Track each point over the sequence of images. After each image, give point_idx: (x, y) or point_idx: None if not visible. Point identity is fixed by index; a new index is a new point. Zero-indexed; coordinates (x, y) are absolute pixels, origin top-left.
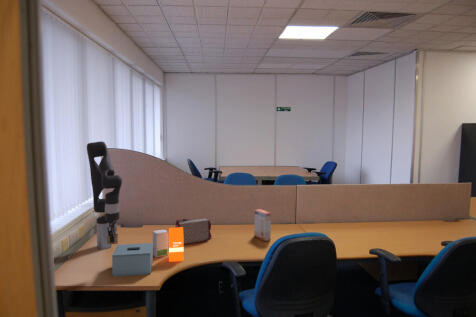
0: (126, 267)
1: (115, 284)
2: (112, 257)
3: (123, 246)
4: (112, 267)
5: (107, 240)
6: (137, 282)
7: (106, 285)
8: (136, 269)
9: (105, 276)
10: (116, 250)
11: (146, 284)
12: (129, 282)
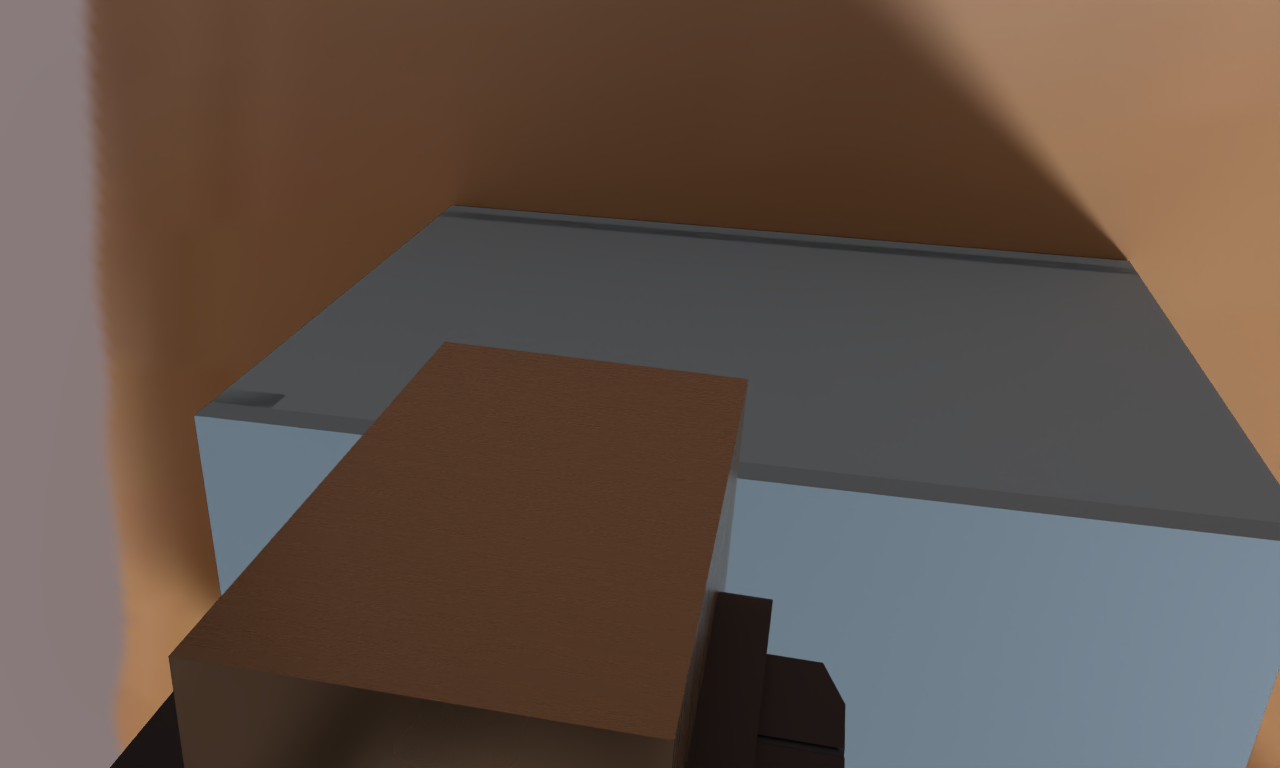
0: None
1: (131, 291)
2: (232, 391)
3: (1007, 735)
4: (370, 274)
5: (357, 458)
6: (198, 620)
7: (92, 131)
8: None
9: (486, 48)
10: None
11: (135, 726)
12: (201, 509)
